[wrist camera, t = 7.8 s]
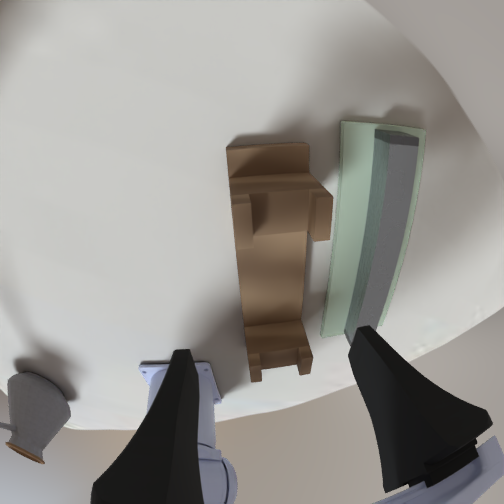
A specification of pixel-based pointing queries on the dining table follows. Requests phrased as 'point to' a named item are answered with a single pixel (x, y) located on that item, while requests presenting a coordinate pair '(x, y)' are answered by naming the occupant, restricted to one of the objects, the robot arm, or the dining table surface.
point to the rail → (383, 226)
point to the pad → (358, 218)
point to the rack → (275, 247)
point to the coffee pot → (34, 414)
